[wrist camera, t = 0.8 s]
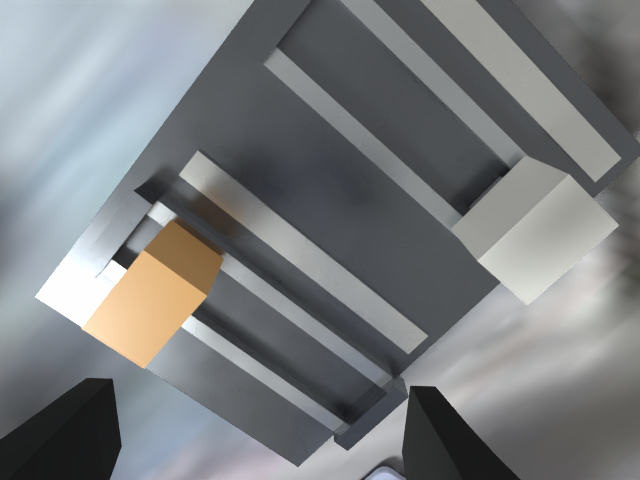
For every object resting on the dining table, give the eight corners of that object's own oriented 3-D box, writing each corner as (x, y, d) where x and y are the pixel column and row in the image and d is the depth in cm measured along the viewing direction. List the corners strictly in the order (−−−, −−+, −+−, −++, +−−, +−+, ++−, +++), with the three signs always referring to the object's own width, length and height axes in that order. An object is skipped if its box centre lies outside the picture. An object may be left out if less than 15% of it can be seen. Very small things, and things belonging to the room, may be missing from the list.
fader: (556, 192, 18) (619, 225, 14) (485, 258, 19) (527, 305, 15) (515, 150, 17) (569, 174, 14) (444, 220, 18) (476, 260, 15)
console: (625, 148, 19) (673, 162, 16) (303, 446, 24) (302, 491, 22) (365, -137, 16) (375, -176, 13) (54, 281, 21) (18, 311, 18)
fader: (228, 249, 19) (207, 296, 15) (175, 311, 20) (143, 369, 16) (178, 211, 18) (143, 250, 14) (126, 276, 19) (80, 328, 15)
